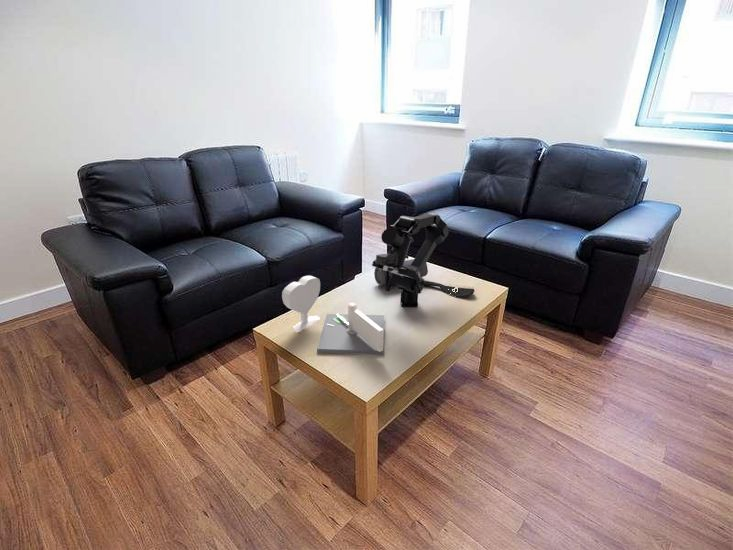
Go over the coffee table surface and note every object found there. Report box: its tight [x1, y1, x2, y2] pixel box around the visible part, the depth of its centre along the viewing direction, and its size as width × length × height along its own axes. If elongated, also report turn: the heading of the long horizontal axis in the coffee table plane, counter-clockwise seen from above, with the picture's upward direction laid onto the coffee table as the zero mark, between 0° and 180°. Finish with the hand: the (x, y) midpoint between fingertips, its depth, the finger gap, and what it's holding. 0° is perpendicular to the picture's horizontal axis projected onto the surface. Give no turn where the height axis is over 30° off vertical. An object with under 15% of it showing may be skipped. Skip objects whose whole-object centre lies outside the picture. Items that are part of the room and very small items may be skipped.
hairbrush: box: [420, 280, 475, 299], centre depth 167 cm, size 8×4×25 cm
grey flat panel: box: [316, 313, 385, 355], centre depth 138 cm, size 22×22×2 cm
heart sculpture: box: [281, 275, 321, 332], centre depth 140 cm, size 16×5×18 cm, turn 143°
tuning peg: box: [336, 302, 385, 352], centre depth 133 cm, size 28×3×10 cm, turn 34°
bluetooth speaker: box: [373, 258, 429, 286], centre depth 172 cm, size 23×9×10 cm, turn 113°
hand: (386, 291), depth 140 cm, fingers closed
